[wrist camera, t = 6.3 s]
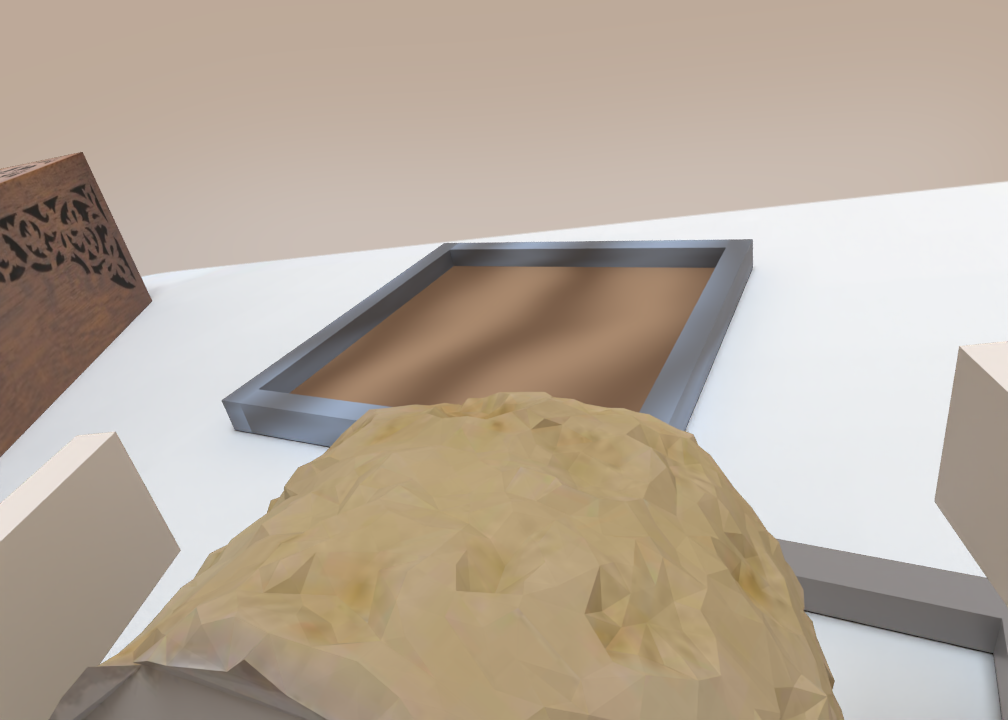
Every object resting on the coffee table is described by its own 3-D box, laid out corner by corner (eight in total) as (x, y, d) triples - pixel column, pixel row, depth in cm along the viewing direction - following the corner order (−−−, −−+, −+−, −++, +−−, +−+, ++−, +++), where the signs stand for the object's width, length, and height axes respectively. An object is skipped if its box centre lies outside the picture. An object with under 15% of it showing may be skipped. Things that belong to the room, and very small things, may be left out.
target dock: (234, 429, 27) (221, 400, 26) (449, 265, 39) (444, 243, 39) (653, 504, 19) (650, 464, 18) (752, 267, 31) (752, 239, 31)
